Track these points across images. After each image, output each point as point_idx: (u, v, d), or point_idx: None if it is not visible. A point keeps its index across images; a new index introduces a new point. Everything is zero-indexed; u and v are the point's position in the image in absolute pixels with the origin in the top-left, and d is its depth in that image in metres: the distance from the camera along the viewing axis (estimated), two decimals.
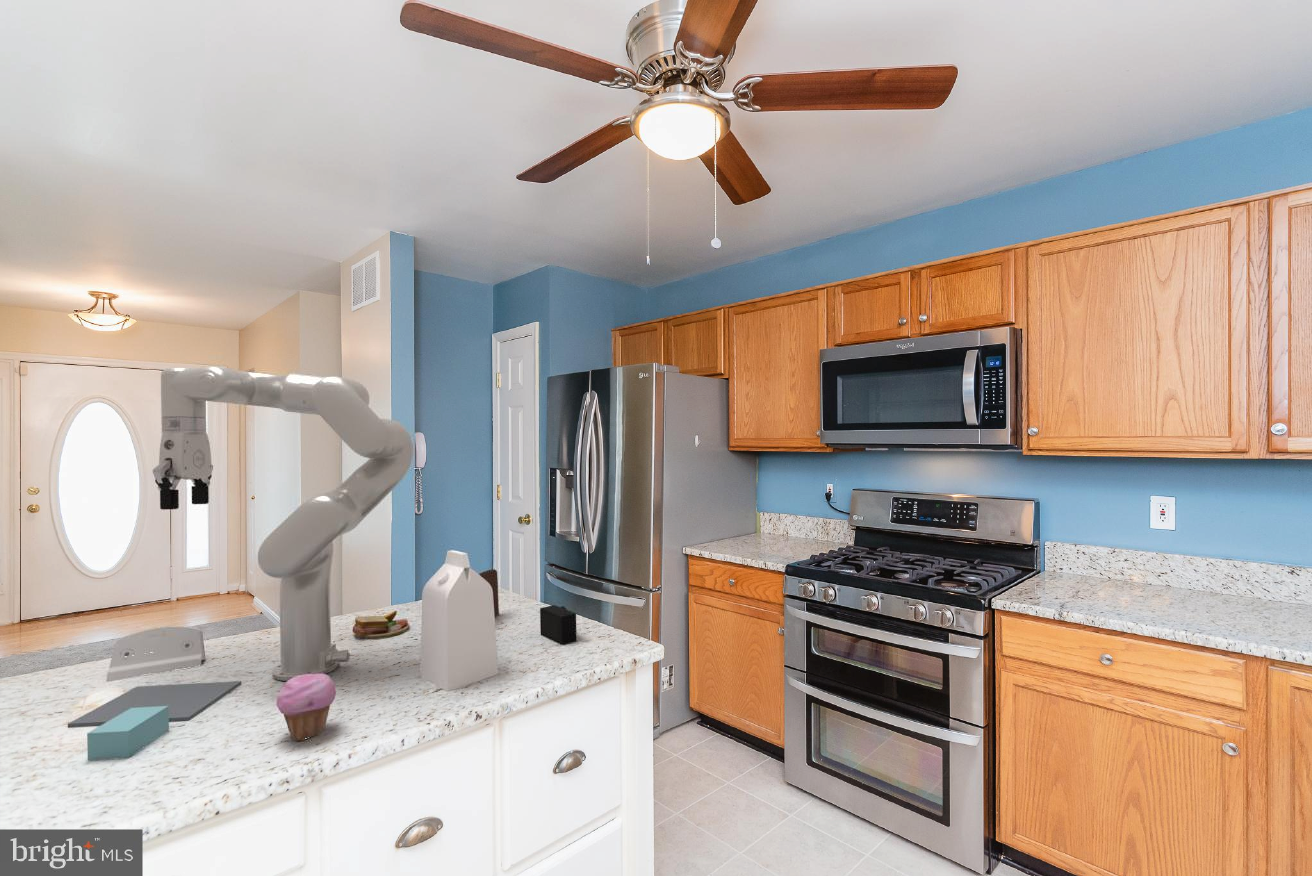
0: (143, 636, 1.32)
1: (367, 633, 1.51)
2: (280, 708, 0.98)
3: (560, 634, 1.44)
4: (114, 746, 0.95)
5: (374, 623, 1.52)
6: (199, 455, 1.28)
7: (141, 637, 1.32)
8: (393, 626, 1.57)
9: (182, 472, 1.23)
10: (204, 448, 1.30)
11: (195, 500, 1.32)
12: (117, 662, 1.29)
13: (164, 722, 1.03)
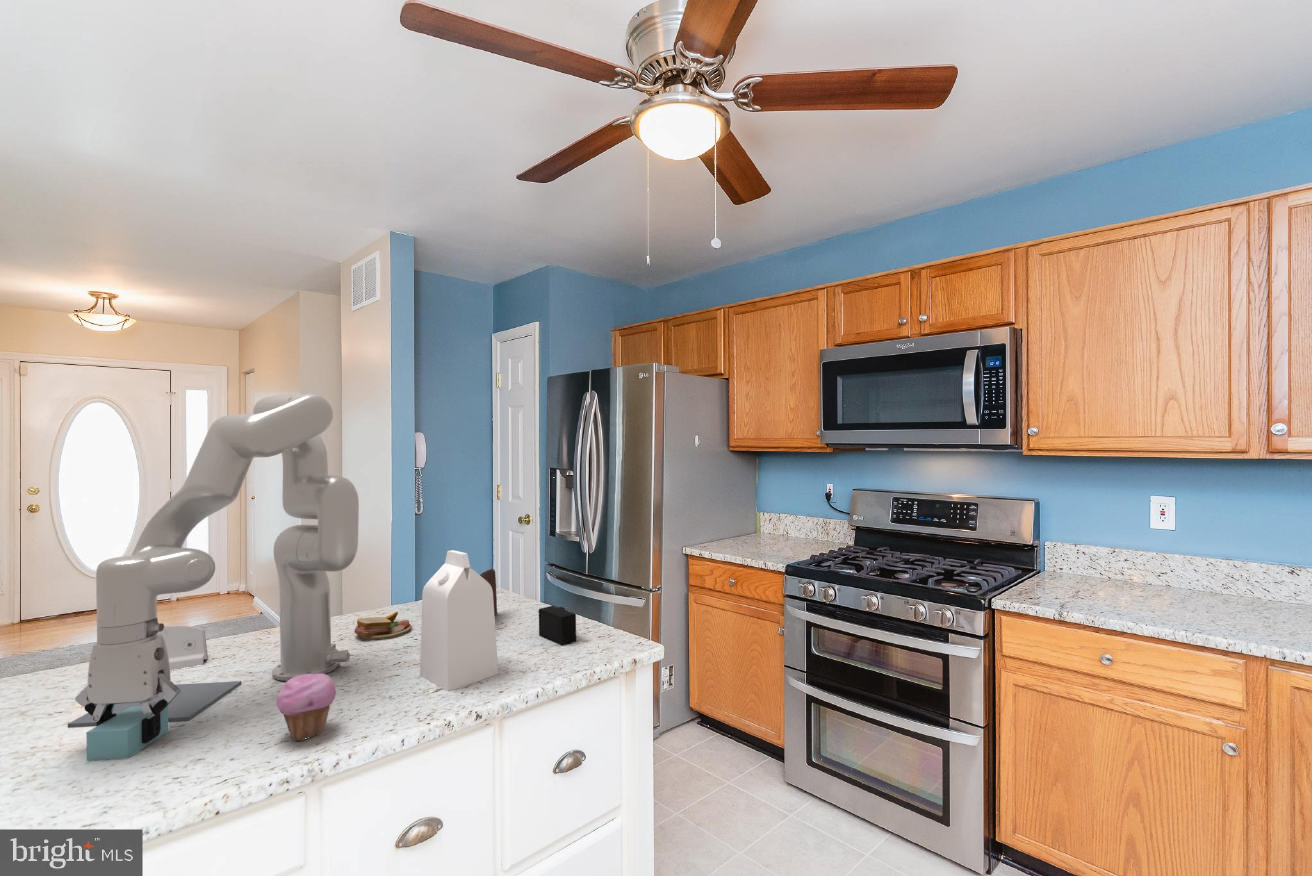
0: None
1: (371, 634, 1.50)
2: (280, 708, 0.98)
3: (560, 635, 1.44)
4: (113, 745, 0.95)
5: (377, 625, 1.51)
6: None
7: None
8: (395, 627, 1.56)
9: None
10: None
11: None
12: None
13: (163, 721, 1.03)
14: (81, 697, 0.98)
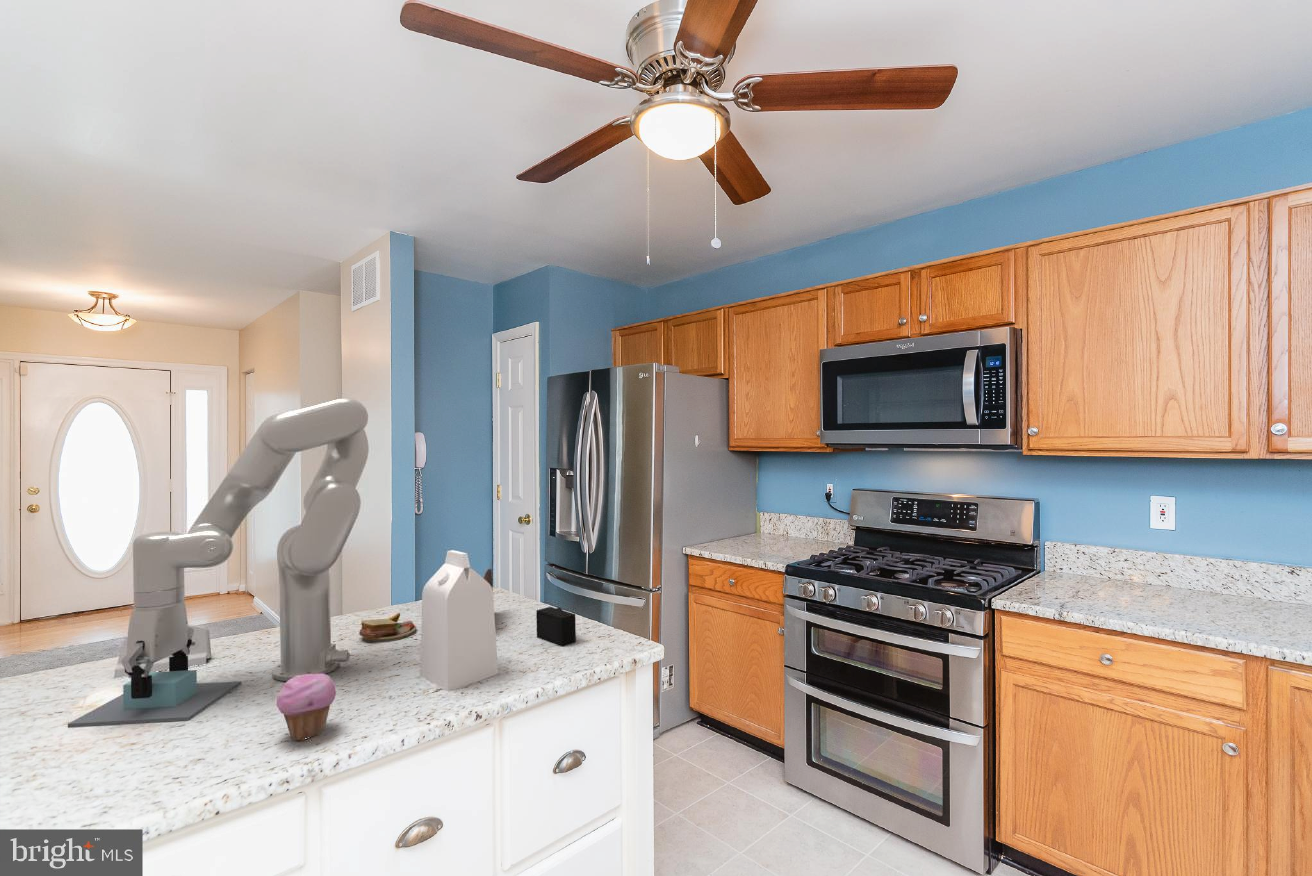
0: None
1: (378, 636, 1.48)
2: (280, 708, 0.98)
3: (560, 636, 1.43)
4: (189, 686, 1.16)
5: (384, 626, 1.50)
6: None
7: None
8: (400, 628, 1.55)
9: None
10: None
11: None
12: None
13: None
14: (132, 659, 1.07)
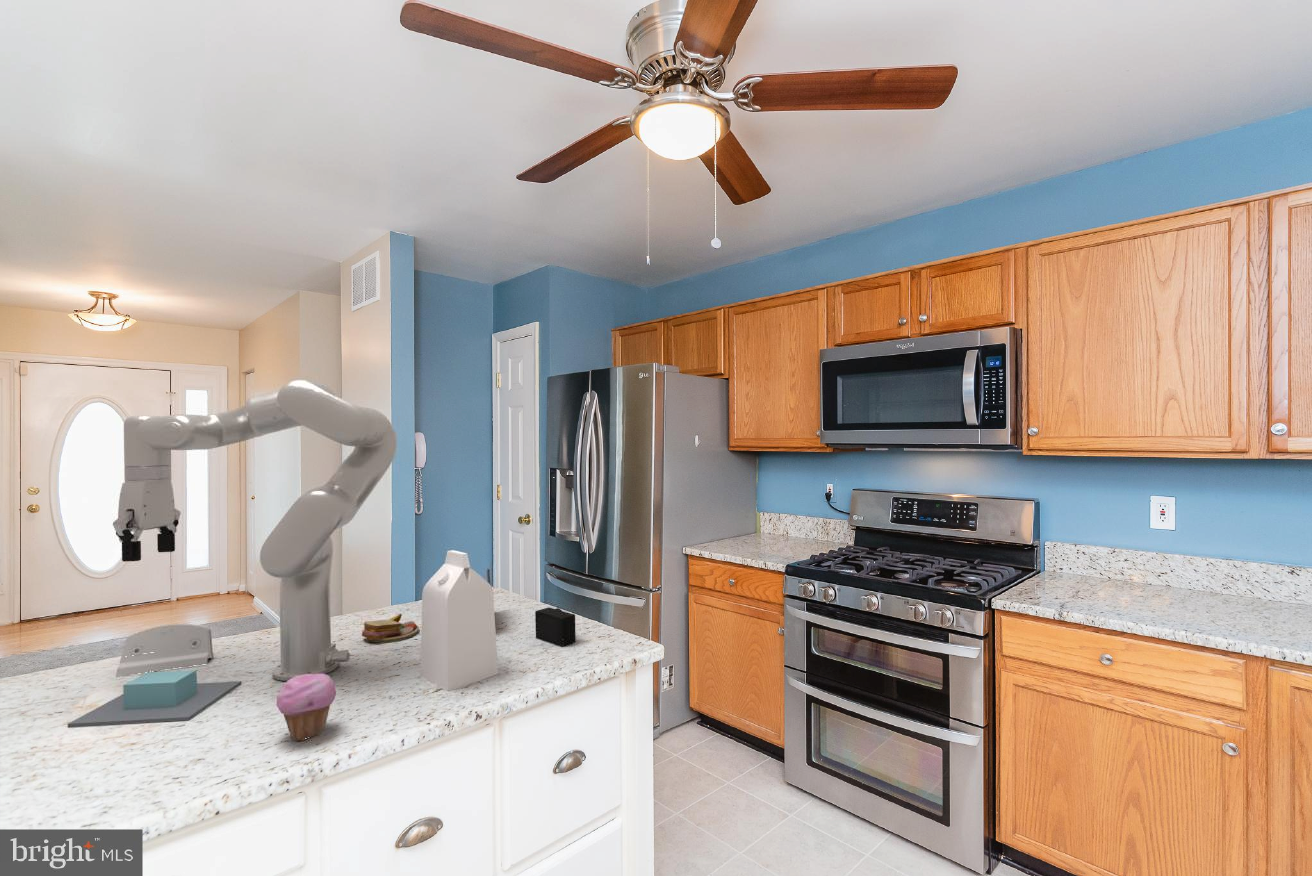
0: (153, 633, 1.34)
1: (382, 637, 1.48)
2: (280, 708, 0.98)
3: (560, 636, 1.43)
4: (189, 686, 1.16)
5: (387, 627, 1.49)
6: None
7: (151, 634, 1.34)
8: (403, 628, 1.54)
9: None
10: None
11: None
12: (127, 658, 1.31)
13: None
14: (123, 523, 1.18)
